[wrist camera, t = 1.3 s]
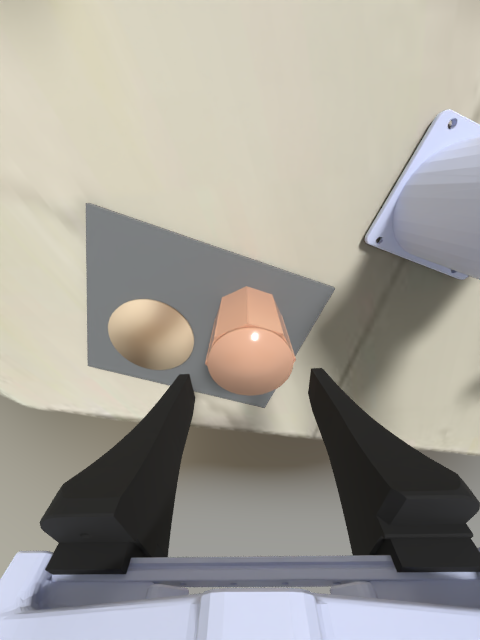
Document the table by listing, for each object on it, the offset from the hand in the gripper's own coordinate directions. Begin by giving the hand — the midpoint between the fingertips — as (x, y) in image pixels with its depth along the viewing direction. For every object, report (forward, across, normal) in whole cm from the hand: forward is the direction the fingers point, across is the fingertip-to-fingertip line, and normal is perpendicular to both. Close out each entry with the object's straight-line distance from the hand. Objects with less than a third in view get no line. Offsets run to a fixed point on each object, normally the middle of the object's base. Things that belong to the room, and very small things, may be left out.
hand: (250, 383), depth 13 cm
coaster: (+8, +9, +2) cm, 12 cm away
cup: (+8, 0, 0) cm, 8 cm away
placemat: (+8, +5, +1) cm, 10 cm away
